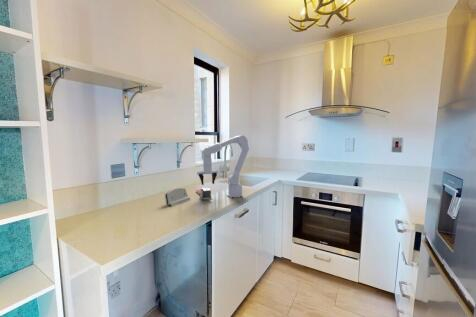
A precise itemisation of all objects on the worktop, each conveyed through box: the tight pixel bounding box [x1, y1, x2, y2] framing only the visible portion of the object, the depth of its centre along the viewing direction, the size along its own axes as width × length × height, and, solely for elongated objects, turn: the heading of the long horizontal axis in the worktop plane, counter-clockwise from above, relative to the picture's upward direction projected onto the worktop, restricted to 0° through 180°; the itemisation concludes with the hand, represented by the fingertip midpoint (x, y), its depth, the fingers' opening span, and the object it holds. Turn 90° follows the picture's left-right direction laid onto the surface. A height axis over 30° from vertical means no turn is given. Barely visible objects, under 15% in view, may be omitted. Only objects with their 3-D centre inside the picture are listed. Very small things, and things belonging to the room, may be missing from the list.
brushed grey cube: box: [200, 186, 212, 198], centre depth 145 cm, size 6×6×5 cm
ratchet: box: [195, 189, 212, 201], centre depth 153 cm, size 8×25×5 cm, turn 24°
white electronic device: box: [164, 187, 191, 207], centre depth 138 cm, size 17×5×10 cm, turn 150°
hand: (207, 184), depth 149 cm, fingers open, 7 cm apart
